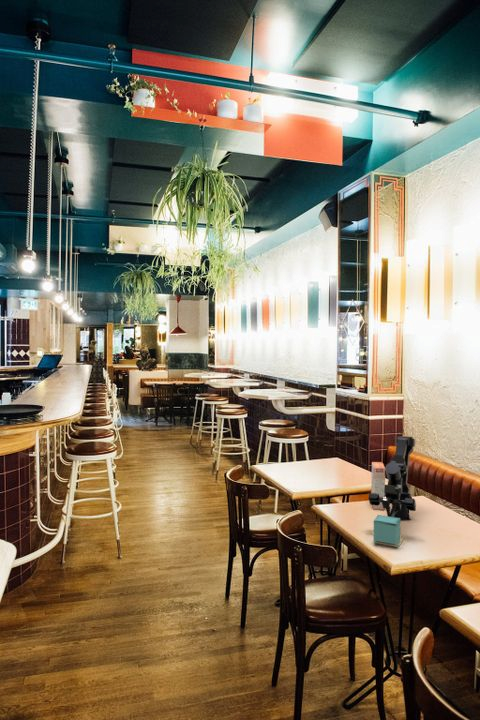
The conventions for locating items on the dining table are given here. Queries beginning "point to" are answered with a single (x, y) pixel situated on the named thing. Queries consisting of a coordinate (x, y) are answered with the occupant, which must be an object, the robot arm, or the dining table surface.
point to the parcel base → (391, 544)
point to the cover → (387, 529)
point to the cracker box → (378, 482)
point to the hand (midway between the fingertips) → (389, 520)
